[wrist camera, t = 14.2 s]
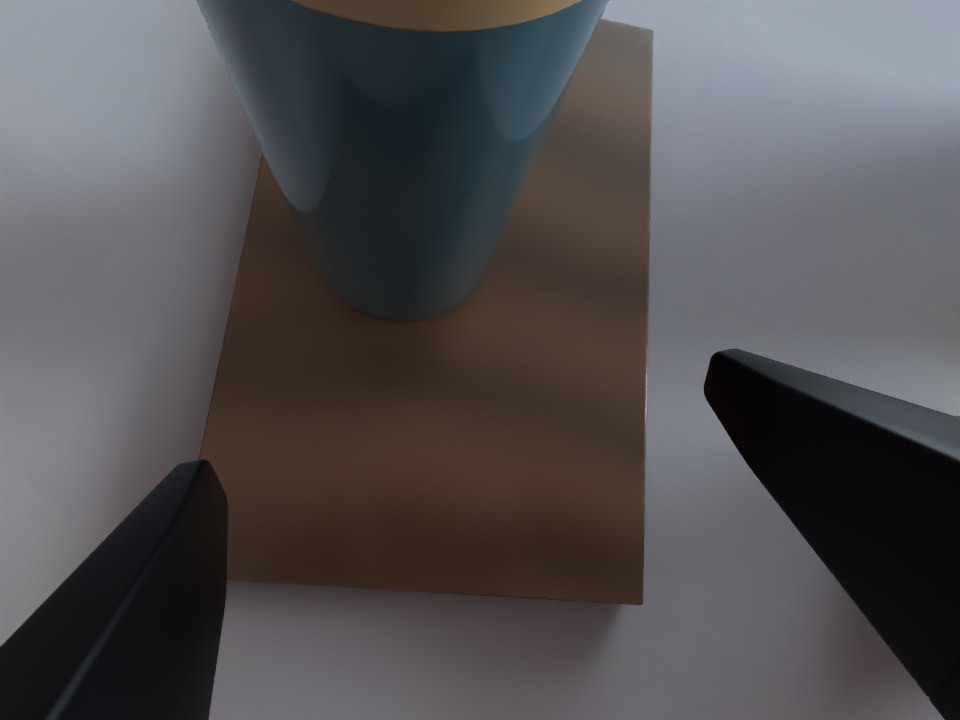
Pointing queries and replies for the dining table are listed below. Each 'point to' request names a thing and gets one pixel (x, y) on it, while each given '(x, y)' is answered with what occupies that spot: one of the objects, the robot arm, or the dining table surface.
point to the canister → (402, 129)
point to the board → (458, 387)
